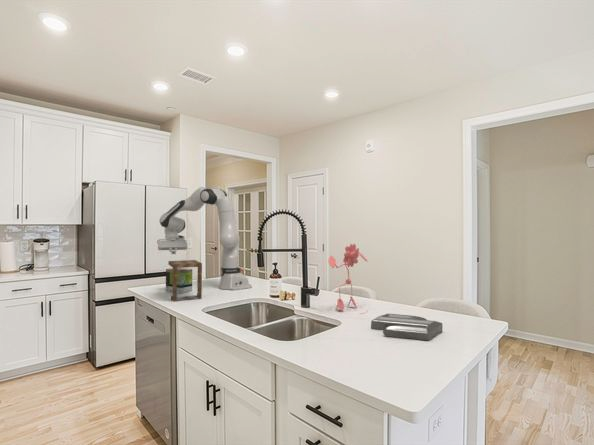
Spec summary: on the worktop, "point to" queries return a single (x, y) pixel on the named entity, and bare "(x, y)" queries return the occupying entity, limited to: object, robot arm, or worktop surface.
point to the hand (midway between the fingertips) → (173, 253)
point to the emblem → (407, 326)
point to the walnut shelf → (176, 265)
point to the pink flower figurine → (350, 259)
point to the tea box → (179, 280)
